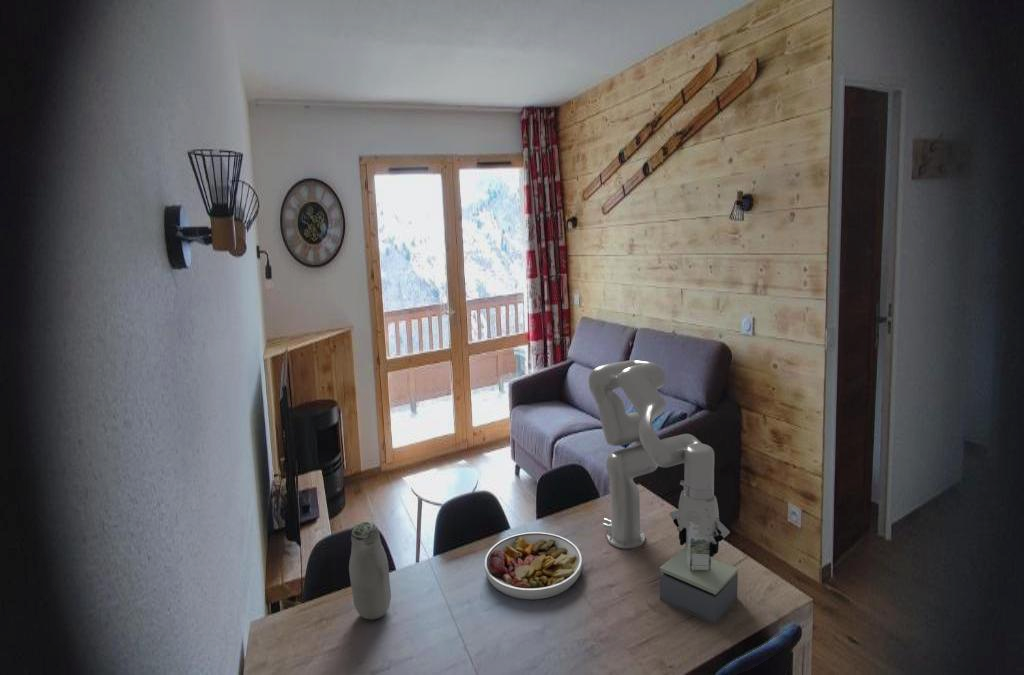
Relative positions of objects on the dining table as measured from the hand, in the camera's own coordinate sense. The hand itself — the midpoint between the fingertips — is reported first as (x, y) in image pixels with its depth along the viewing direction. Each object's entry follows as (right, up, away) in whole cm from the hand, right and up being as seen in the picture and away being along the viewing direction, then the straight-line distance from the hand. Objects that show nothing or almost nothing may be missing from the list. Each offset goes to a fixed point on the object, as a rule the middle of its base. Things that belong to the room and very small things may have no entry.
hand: (698, 548), depth 151 cm
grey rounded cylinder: (-90, -21, +5) cm, 93 cm away
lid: (+1, -7, +1) cm, 7 cm away
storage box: (+1, -15, +3) cm, 16 cm away
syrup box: (0, -5, +1) cm, 5 cm away
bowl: (-44, -15, +19) cm, 51 cm away
